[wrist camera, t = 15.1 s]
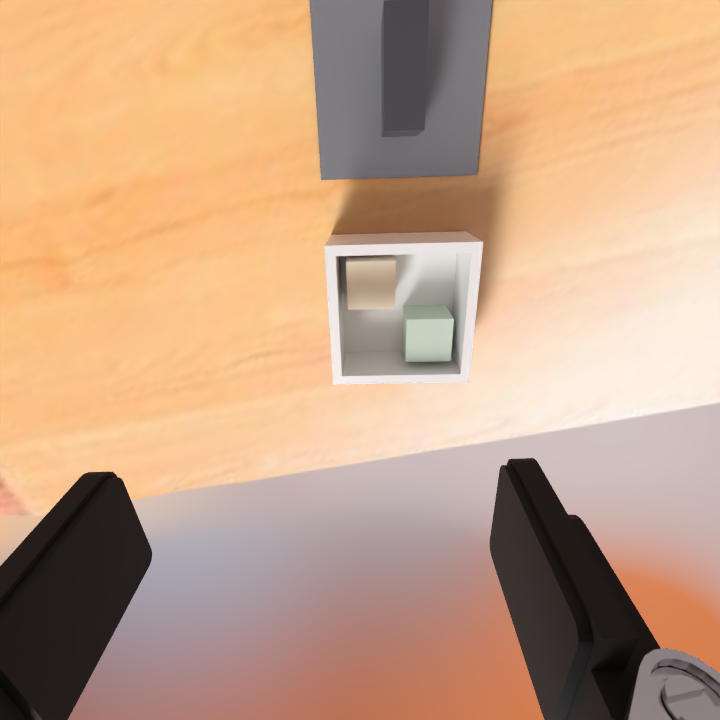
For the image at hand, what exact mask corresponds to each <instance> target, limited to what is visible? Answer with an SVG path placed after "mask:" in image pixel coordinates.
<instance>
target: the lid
mask: <svg viewBox="0 0 720 720" xmlns="http://www.w3.org/2000/svg"><path fill="white" fill-rule="evenodd" d="M491 8H492V0H310V12H311V28H312V44H313V59H314V75H315V90H316V106H317V122H318V137H319V153H320V168H321V180H336V179H368V178H400V177H431V176H463V175H477V170H478V158H479V147H480V135H481V124H482V112H483V101H484V89H485V77H486V66H487V54H488V43H489V31H490V20H491Z"/></svg>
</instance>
